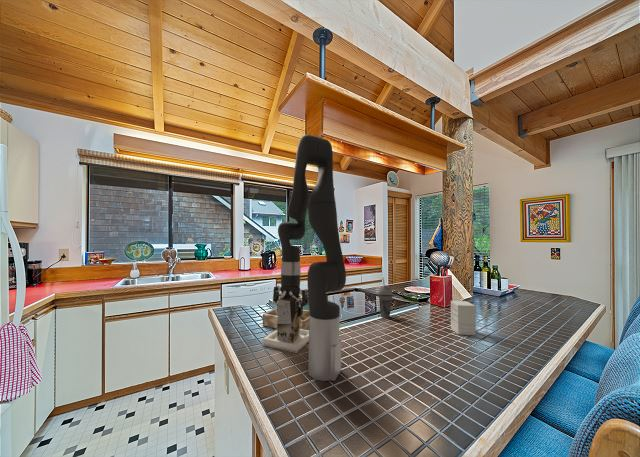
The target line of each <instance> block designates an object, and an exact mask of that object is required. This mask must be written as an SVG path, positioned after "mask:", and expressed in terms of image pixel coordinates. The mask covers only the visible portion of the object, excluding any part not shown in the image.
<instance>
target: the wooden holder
mask: <svg viewBox="0 0 640 457" xmlns="http://www.w3.org/2000/svg"><path fill="white" fill-rule="evenodd" d="M277 318H278V316H275V308H273V309H271V310H269V311H266V312H264V313H263V314H262V327H263V326H264V327H268V328H274V329H277ZM300 329H303V330H309V310H308V309H303V314H302V315H301V317H300Z"/></svg>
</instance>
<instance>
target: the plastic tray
mask: <svg viewBox="0 0 640 457" xmlns="http://www.w3.org/2000/svg"><path fill="white" fill-rule="evenodd" d="M262 340H263V341H262V342H263V344H262V345H263V346H265V347H269V348H273V349H277V350H282V351H285V352H290V353H295V354H297V353H298V352H300V350H301V349H302V348H304V347H305V346H306V345H307V344H309V330H303V329H300V335H299V337H298V338H297V339H296V340H295V342H294V343H293V344H291V343H287V342H282V341H278V340H277V329H275V330H274V331H273V332H271V333H270V334H267V335H266V336H265V337H264V338H263V339H262Z"/></svg>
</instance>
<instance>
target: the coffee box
mask: <svg viewBox="0 0 640 457" xmlns="http://www.w3.org/2000/svg"><path fill="white" fill-rule="evenodd" d="M297 299H298V298H297ZM297 310H298V305H297V304H296V302H295V299H292V298H280V299H279V300H278V318H277V328H276V330H277V340H278V341H282V342H287V343H291V344H293V343H294V342H295V340H296V339H297V338H298V337H299V335H300V317H297Z"/></svg>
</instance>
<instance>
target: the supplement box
mask: <svg viewBox="0 0 640 457" xmlns="http://www.w3.org/2000/svg"><path fill="white" fill-rule="evenodd" d="M476 311H477V310H476V305H474V304H473V303H471V302H469V301H467V300H465V301H464V300H463V301H462V300H461V301H460V300H450V329H451V330H452V331H454V332H455V333H456V334H457V335H461V336H463V335H466V336H476V335H477V334H476V332H477V331H476V327H477V326H476V321H477V320H476Z"/></svg>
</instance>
